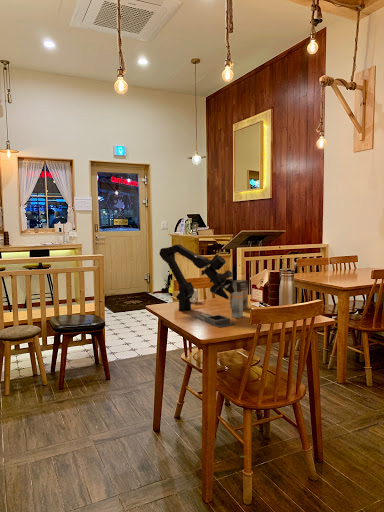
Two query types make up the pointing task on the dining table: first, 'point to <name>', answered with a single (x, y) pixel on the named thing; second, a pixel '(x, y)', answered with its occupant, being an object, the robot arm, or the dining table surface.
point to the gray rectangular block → (237, 304)
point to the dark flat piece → (215, 320)
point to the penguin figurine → (194, 296)
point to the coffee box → (241, 287)
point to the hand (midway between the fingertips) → (232, 297)
